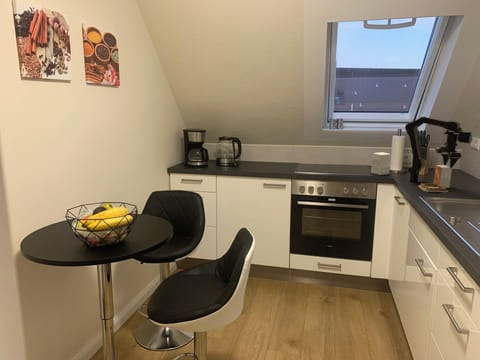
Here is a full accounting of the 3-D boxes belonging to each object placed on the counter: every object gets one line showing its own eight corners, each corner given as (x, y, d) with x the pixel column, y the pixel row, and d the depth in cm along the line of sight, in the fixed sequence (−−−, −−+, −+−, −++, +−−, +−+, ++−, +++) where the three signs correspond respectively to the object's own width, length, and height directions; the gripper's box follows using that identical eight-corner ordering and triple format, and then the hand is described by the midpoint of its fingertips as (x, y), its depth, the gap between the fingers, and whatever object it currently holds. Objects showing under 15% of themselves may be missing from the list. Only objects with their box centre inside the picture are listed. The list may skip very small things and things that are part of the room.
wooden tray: (418, 186, 235) (418, 182, 235) (438, 187, 234) (439, 183, 233) (426, 192, 222) (426, 188, 221) (447, 193, 220) (448, 189, 219)
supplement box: (380, 171, 279) (382, 152, 276) (389, 174, 271) (391, 153, 268) (370, 172, 276) (372, 152, 273) (379, 175, 268) (381, 154, 265)
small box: (432, 184, 241) (435, 164, 238) (442, 184, 241) (445, 165, 238) (439, 187, 233) (442, 167, 230) (449, 187, 233) (452, 167, 230)
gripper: (432, 139, 240) (428, 163, 244) (443, 143, 222) (440, 169, 226) (450, 140, 239) (446, 163, 243) (463, 144, 221) (459, 169, 225)
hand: (447, 166), depth 234 cm, fingers open, 9 cm apart
